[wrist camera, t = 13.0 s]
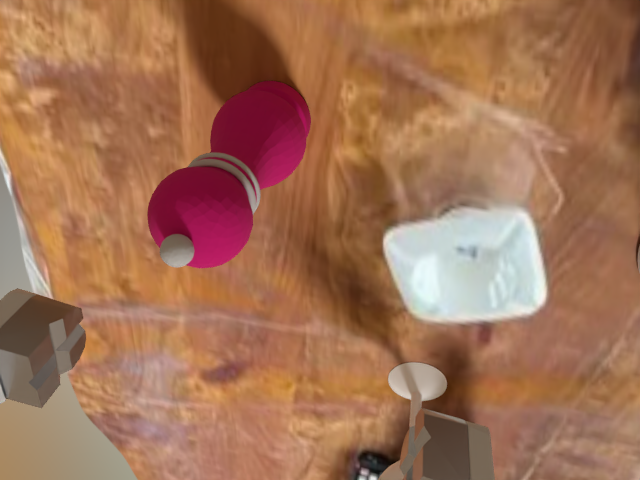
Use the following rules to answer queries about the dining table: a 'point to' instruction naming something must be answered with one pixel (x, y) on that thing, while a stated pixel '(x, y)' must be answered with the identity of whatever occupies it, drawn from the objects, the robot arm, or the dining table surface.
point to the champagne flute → (414, 396)
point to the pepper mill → (229, 177)
